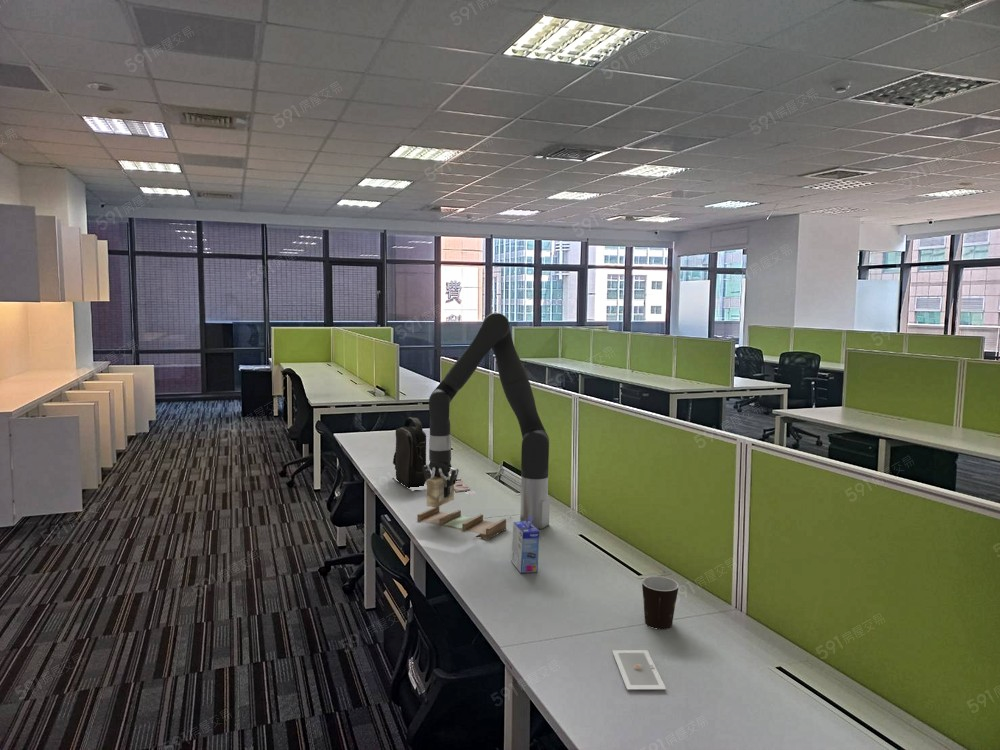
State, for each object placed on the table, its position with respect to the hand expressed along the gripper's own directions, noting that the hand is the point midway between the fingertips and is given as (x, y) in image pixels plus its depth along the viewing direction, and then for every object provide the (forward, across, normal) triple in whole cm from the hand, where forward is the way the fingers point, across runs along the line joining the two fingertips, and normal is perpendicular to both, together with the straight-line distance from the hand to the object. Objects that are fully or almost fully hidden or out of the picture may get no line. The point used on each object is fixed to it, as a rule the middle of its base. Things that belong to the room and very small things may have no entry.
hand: (440, 495), depth 233 cm
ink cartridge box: (+10, -42, +20) cm, 48 cm away
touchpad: (+11, -88, +59) cm, 106 cm away
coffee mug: (+11, -85, +36) cm, 93 cm away
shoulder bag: (+9, +38, -36) cm, 53 cm away
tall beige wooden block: (+2, 0, 0) cm, 2 cm away
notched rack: (+10, -8, 0) cm, 13 cm away
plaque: (+10, +17, -40) cm, 44 cm away
